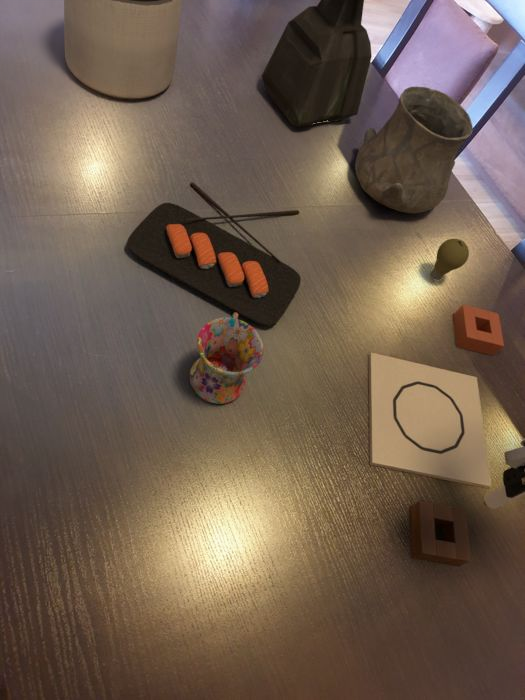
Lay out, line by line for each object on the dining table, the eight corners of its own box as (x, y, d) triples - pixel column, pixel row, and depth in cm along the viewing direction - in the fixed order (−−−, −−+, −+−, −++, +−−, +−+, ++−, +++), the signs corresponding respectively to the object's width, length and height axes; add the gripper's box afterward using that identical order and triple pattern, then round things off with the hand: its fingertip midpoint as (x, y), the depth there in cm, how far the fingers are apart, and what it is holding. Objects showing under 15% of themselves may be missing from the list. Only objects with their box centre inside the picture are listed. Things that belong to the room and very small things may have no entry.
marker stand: (454, 514, 85) (465, 509, 82) (459, 566, 81) (471, 561, 78) (409, 506, 84) (419, 500, 81) (412, 557, 80) (422, 553, 77)
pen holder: (487, 323, 108) (498, 313, 105) (492, 355, 104) (504, 346, 101) (452, 315, 107) (462, 304, 104) (456, 347, 103) (467, 336, 100)
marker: (492, 496, 73) (555, 464, 63) (495, 512, 72) (558, 482, 62) (478, 493, 73) (538, 461, 63) (480, 510, 72) (541, 479, 62)
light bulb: (415, 273, 110) (441, 239, 102) (431, 262, 113) (458, 228, 105) (436, 293, 109) (464, 259, 101) (451, 281, 112) (480, 247, 104)
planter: (185, 63, 127) (200, -32, 111) (153, 118, 115) (164, 19, 98) (90, 26, 125) (91, -76, 109) (46, 78, 113) (40, -29, 96)
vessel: (392, 145, 131) (435, 65, 115) (453, 211, 124) (509, 136, 108) (321, 162, 121) (358, 77, 105) (383, 236, 114) (433, 157, 97)
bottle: (317, 80, 137) (367, -56, 113) (354, 124, 132) (416, -9, 107) (255, 88, 129) (295, -57, 105) (292, 136, 123) (344, -6, 99)
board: (473, 379, 100) (477, 376, 99) (487, 488, 89) (492, 486, 88) (368, 355, 97) (371, 351, 96) (369, 464, 86) (372, 462, 85)
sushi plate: (118, 253, 94) (119, 237, 91) (203, 161, 112) (207, 145, 109) (270, 337, 93) (276, 324, 90) (332, 231, 111) (340, 217, 108)
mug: (241, 415, 84) (258, 381, 76) (180, 400, 83) (191, 364, 74) (252, 349, 91) (269, 311, 83) (196, 334, 90) (208, 295, 81)
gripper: (572, 446, 49) (459, 507, 64) (728, 478, 51) (583, 530, 66) (556, 371, 53) (453, 445, 68) (700, 405, 55) (570, 469, 70)
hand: (518, 487), depth 67 cm, fingers closed on marker, 2 cm apart
